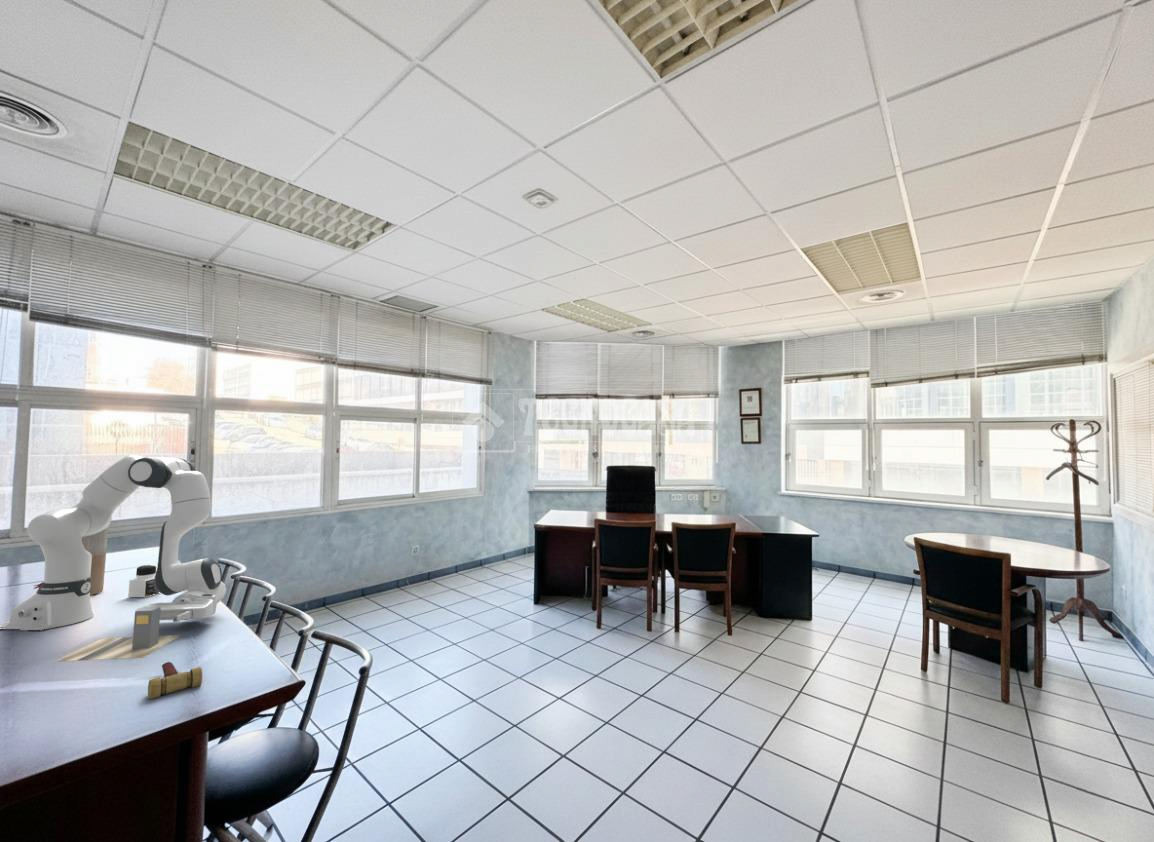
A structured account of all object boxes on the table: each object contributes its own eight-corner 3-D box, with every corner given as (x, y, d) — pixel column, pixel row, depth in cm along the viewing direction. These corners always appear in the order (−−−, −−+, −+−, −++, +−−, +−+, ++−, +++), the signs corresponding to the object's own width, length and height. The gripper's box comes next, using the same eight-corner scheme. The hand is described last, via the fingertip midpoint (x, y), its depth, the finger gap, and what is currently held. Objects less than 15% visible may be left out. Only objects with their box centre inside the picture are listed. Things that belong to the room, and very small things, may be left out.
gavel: (141, 661, 127) (188, 650, 134) (140, 678, 126) (187, 666, 134) (150, 682, 113) (203, 669, 120) (149, 702, 112) (201, 687, 120)
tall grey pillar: (131, 649, 137) (134, 611, 137) (141, 644, 140) (144, 607, 141) (148, 648, 137) (151, 610, 138) (157, 643, 141) (160, 606, 142)
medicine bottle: (145, 598, 186) (147, 568, 187) (127, 598, 187) (129, 567, 187) (161, 592, 194) (163, 563, 194) (144, 592, 194) (146, 563, 194)
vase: (83, 590, 195) (89, 523, 196) (109, 590, 196) (115, 523, 197) (60, 598, 185) (66, 527, 187) (87, 597, 186) (93, 527, 188)
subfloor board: (53, 666, 128) (53, 661, 129) (102, 643, 144) (102, 638, 144) (143, 662, 132) (143, 657, 132) (181, 639, 148) (182, 635, 148)
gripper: (154, 596, 156) (121, 610, 143) (221, 594, 160) (195, 608, 146) (152, 615, 156) (119, 631, 142) (220, 613, 159) (194, 629, 146)
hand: (158, 620), depth 144 cm, fingers open, 8 cm apart
